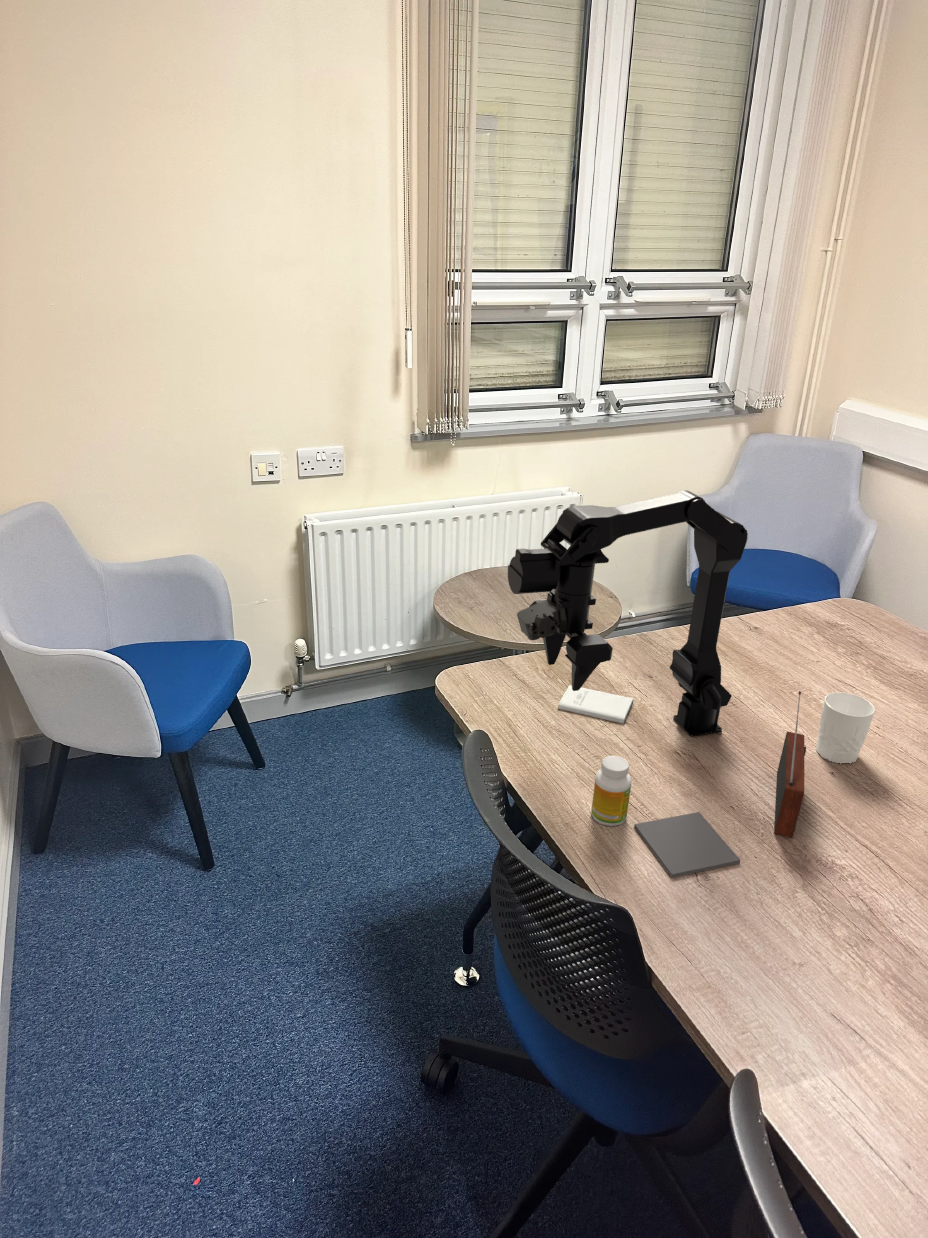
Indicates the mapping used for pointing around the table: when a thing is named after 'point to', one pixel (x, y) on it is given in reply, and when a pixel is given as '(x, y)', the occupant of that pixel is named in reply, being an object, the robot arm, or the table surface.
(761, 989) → the table surface
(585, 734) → the table surface
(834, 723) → the white cup
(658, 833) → the coaster mat
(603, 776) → the supplement bottle
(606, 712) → the external hard drive
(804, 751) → the radio
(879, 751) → the table surface
